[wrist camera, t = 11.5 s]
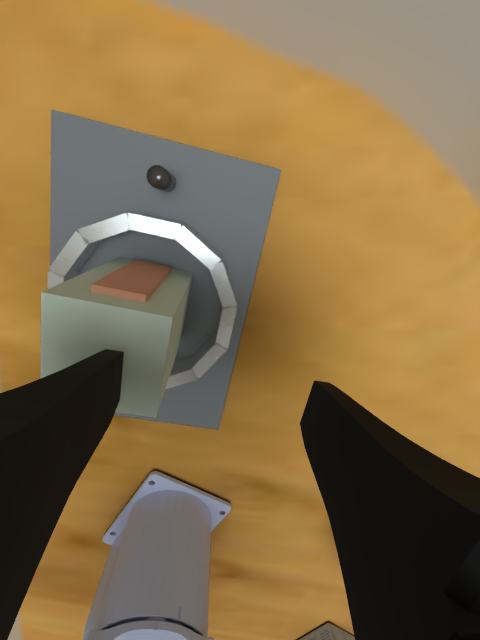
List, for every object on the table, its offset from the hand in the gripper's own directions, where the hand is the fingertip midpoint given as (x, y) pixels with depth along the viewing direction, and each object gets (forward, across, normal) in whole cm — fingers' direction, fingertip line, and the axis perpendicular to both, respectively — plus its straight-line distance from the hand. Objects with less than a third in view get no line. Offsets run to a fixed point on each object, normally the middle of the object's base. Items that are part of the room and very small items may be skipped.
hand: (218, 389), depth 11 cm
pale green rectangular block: (+8, +4, 0) cm, 10 cm away
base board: (+10, +4, 0) cm, 11 cm away
